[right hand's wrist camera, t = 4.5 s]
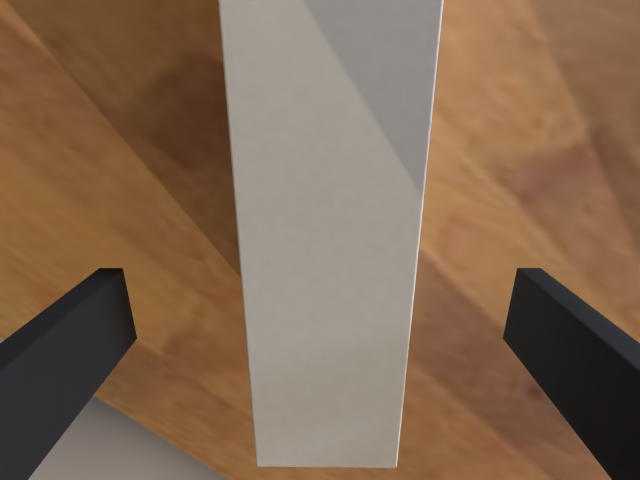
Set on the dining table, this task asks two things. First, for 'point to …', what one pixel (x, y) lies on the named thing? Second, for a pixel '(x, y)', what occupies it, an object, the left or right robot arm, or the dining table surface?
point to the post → (328, 215)
